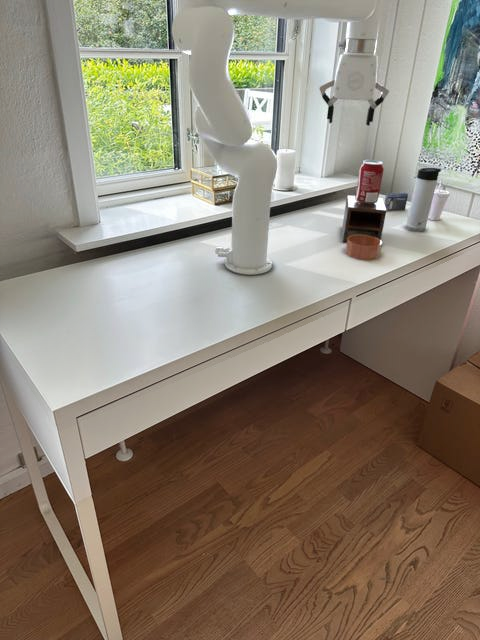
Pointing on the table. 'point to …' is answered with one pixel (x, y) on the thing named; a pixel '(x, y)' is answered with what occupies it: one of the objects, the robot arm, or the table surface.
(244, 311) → the table surface
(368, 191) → the soda can
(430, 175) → the travel mug
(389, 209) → the mini dv tape
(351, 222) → the desk shelf
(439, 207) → the smoothie
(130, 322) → the table surface
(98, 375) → the table surface
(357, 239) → the can holder
